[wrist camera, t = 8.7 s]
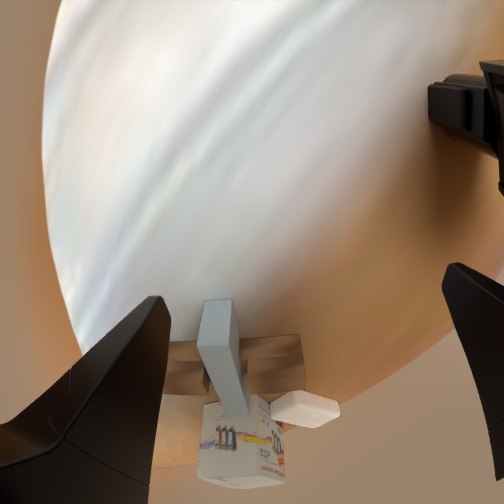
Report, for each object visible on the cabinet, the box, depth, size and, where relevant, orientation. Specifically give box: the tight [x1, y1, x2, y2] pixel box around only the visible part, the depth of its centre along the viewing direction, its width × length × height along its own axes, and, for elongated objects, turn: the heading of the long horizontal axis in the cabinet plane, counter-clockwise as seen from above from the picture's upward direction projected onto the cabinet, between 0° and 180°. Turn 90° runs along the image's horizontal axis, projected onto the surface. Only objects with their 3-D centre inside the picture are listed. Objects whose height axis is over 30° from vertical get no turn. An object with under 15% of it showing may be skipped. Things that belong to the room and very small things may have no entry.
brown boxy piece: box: [162, 334, 306, 395], centre depth 25 cm, size 14×2×5 cm, turn 96°
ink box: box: [197, 394, 286, 489], centre depth 30 cm, size 9×9×12 cm
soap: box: [270, 390, 340, 428], centre depth 33 cm, size 9×6×3 cm, turn 53°
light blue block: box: [197, 299, 250, 417], centre depth 25 cm, size 2×13×5 cm, turn 6°
